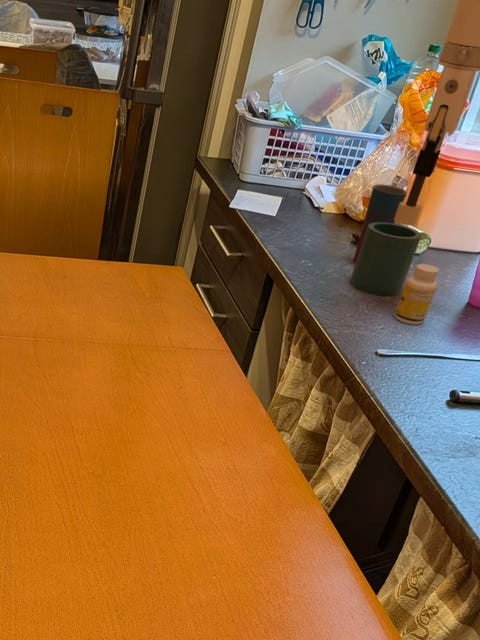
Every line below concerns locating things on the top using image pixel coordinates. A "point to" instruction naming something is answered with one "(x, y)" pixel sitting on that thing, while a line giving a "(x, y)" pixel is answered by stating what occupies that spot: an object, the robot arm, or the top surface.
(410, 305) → the supplement bottle
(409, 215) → the brush
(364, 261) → the jar
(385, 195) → the cup
